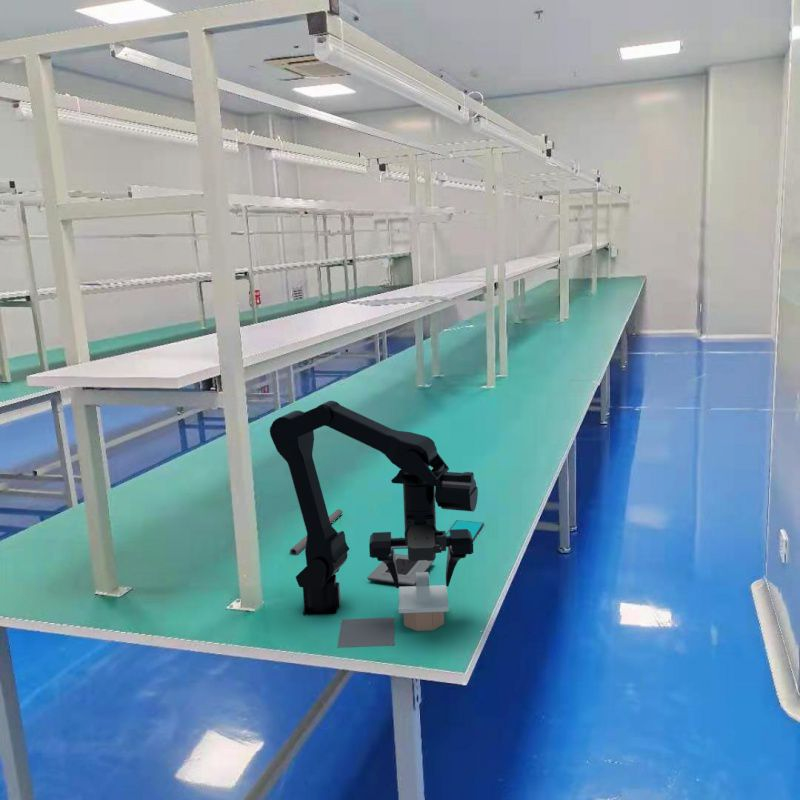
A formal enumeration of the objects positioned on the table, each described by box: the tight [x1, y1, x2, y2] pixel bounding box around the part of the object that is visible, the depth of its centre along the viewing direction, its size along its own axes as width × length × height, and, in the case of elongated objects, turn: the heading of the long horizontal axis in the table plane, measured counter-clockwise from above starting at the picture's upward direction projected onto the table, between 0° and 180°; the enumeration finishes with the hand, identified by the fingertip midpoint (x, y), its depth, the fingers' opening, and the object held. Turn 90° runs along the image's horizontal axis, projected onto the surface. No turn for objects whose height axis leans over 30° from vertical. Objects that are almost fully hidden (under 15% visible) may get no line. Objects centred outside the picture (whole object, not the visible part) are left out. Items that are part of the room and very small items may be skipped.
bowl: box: [402, 612, 445, 632], centre depth 135 cm, size 8×8×4 cm
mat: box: [336, 617, 396, 649], centre depth 132 cm, size 10×10×1 cm
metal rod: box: [289, 508, 344, 556], centre depth 182 cm, size 2×27×2 cm, turn 162°
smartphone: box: [446, 519, 485, 542], centre depth 178 cm, size 7×1×15 cm
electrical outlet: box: [366, 553, 436, 587], centre depth 156 cm, size 13×10×2 cm
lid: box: [398, 571, 450, 614], centre depth 134 cm, size 9×9×4 cm
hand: (422, 586), depth 134 cm, fingers open, 9 cm apart
